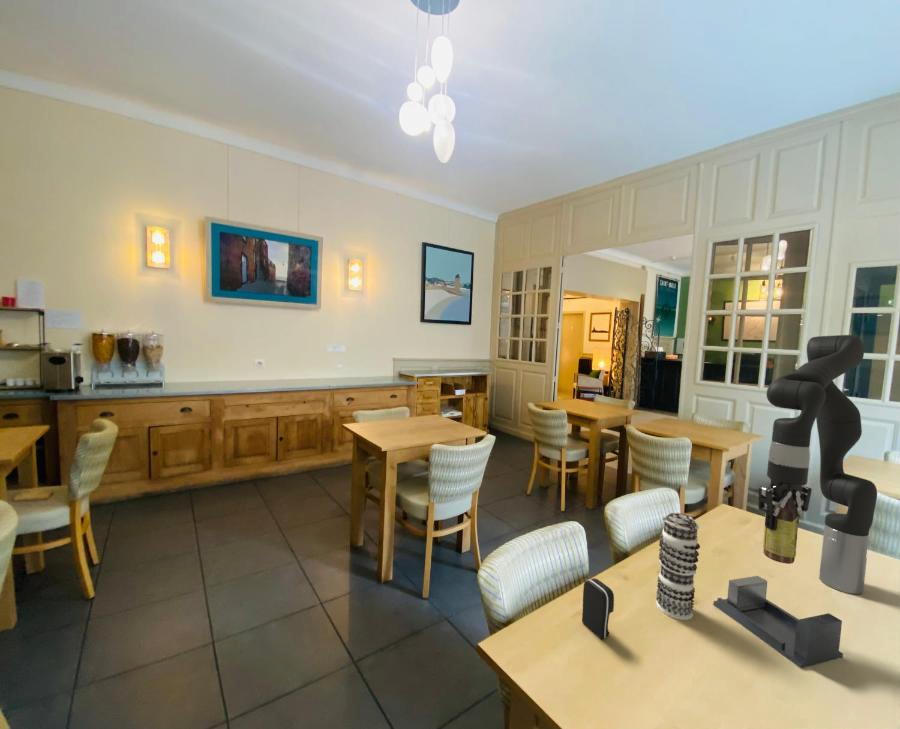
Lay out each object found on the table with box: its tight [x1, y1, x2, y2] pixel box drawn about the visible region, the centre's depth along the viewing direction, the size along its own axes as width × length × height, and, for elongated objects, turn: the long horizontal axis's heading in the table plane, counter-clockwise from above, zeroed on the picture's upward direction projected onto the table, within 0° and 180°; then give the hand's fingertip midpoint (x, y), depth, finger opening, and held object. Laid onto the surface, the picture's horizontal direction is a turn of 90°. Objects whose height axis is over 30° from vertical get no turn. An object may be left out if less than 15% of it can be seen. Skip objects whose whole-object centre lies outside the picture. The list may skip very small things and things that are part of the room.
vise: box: [712, 597, 844, 669], centre depth 97 cm, size 13×21×9 cm, turn 15°
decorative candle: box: [655, 512, 701, 621], centre depth 103 cm, size 9×9×25 cm
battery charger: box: [581, 578, 615, 640], centre depth 95 cm, size 7×4×11 cm, turn 26°
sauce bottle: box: [762, 484, 800, 565], centre depth 97 cm, size 6×6×20 cm
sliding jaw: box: [726, 575, 768, 611], centre depth 103 cm, size 10×2×7 cm, turn 105°
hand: (781, 527), depth 97 cm, fingers closed on sauce bottle, 6 cm apart
